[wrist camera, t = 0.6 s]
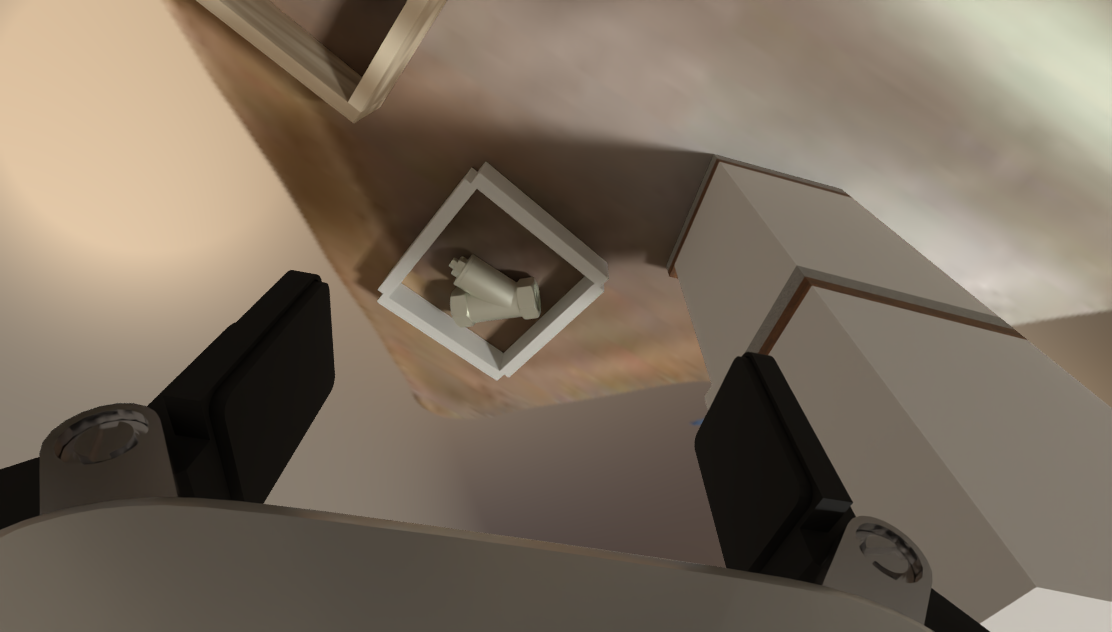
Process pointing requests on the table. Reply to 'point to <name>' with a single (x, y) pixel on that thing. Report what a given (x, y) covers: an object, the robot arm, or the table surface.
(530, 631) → the robot arm
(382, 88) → the crate
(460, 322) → the pipe fitting
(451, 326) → the parts tray
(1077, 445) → the white column on base
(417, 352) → the table surface
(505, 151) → the table surface
